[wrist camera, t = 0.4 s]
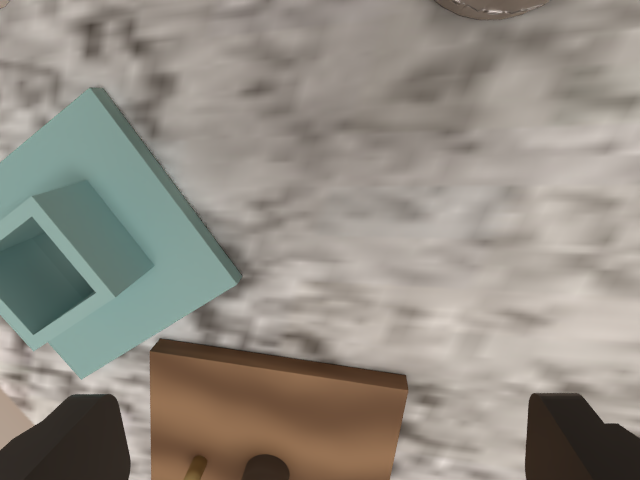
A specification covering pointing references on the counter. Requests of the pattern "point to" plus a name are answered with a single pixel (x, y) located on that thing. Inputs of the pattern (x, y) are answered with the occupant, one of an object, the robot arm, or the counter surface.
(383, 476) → the post block
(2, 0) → the white short cylinder
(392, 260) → the counter surface
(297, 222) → the counter surface
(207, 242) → the flange plate
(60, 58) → the counter surface
